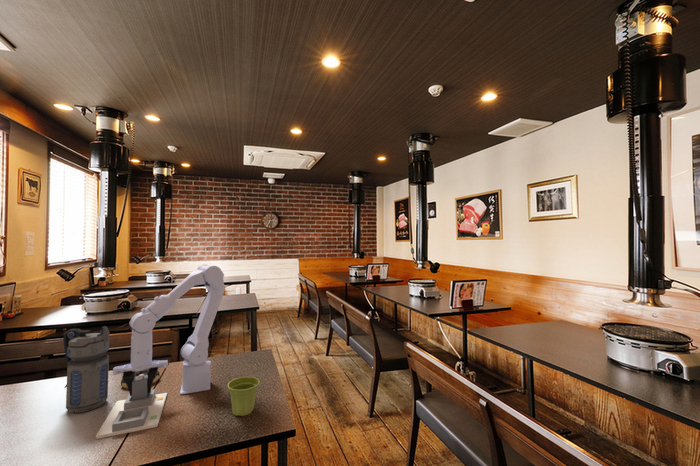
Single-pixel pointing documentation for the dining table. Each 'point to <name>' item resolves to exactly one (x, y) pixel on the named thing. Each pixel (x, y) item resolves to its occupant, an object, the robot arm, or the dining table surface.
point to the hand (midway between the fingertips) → (140, 393)
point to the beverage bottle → (86, 369)
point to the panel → (133, 415)
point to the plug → (140, 387)
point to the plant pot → (243, 394)
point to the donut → (138, 375)
